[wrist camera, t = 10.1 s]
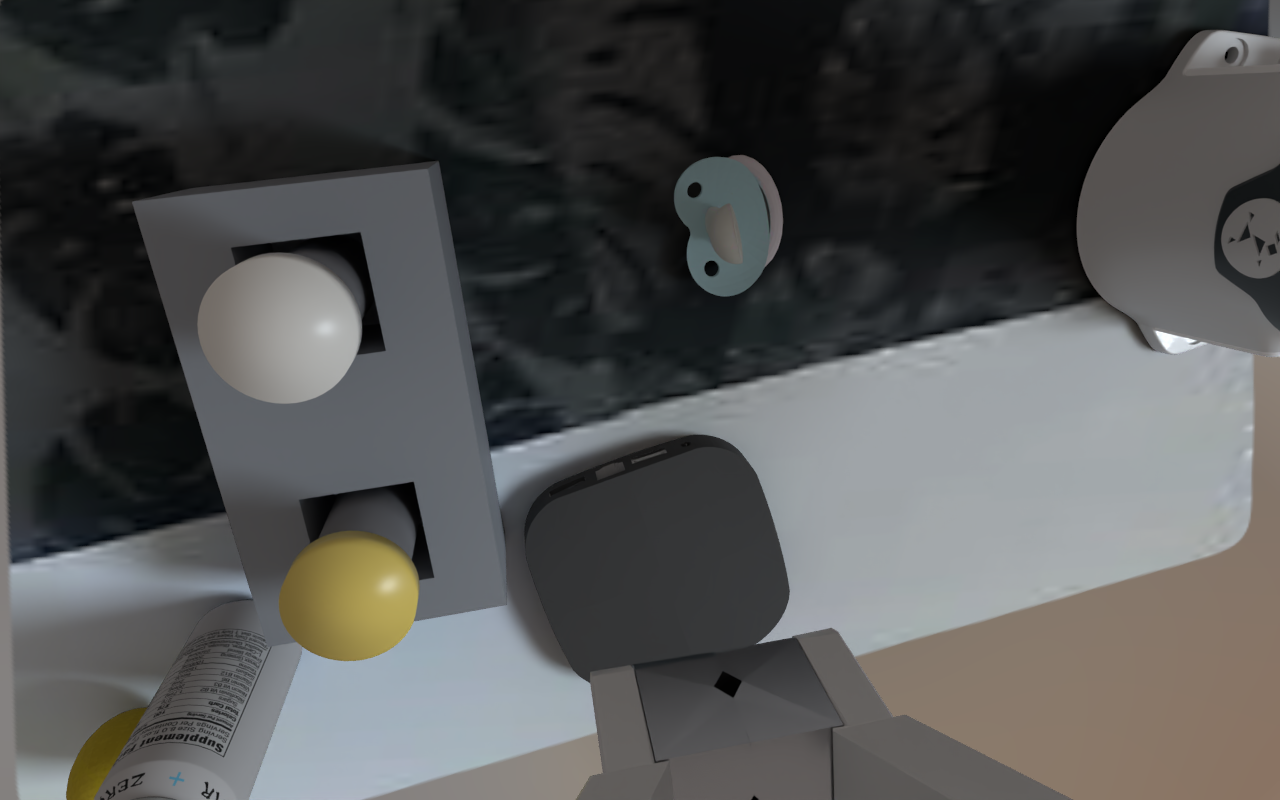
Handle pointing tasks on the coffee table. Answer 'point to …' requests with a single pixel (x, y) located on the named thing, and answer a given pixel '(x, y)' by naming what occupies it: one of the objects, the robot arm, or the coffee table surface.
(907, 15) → the coffee table surface
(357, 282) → the knob white
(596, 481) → the media streaming box
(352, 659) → the knob mustard
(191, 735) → the energy drink can
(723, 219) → the pacifier
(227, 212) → the mount
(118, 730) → the lemon
